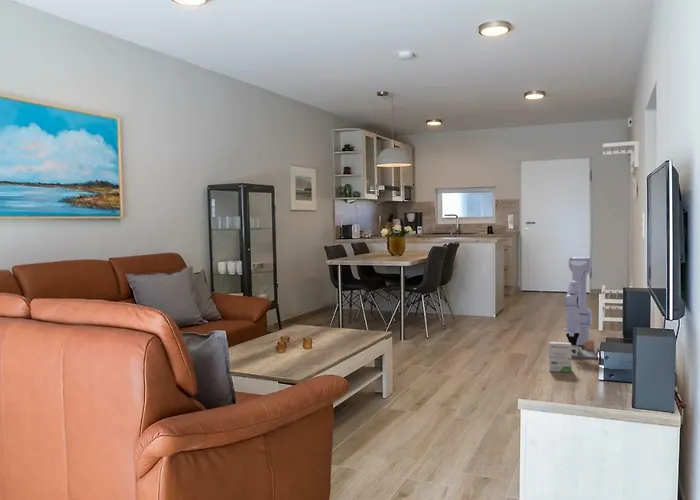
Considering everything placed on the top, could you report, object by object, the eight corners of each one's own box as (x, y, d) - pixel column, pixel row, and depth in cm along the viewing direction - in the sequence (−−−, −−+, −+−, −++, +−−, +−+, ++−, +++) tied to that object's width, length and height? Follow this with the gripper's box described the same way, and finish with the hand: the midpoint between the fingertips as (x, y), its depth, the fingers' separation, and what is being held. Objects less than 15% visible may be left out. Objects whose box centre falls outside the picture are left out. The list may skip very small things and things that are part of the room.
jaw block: (585, 350, 279) (585, 339, 279) (594, 350, 277) (594, 340, 277) (584, 351, 276) (584, 341, 275) (593, 352, 274) (593, 342, 274)
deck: (566, 350, 279) (566, 342, 278) (598, 352, 273) (598, 344, 272) (563, 357, 266) (563, 348, 266) (597, 359, 260) (597, 350, 260)
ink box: (571, 370, 244) (571, 342, 243) (570, 373, 239) (570, 344, 239) (550, 368, 247) (550, 340, 247) (549, 371, 243) (548, 343, 242)
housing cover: (567, 351, 273) (566, 344, 273) (578, 351, 271) (578, 345, 271) (565, 353, 268) (565, 347, 268) (577, 354, 266) (577, 348, 265)
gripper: (565, 317, 281) (565, 345, 281) (562, 322, 268) (562, 351, 268) (580, 317, 278) (581, 346, 278) (578, 323, 265) (578, 352, 265)
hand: (572, 348), depth 273 cm, fingers closed
